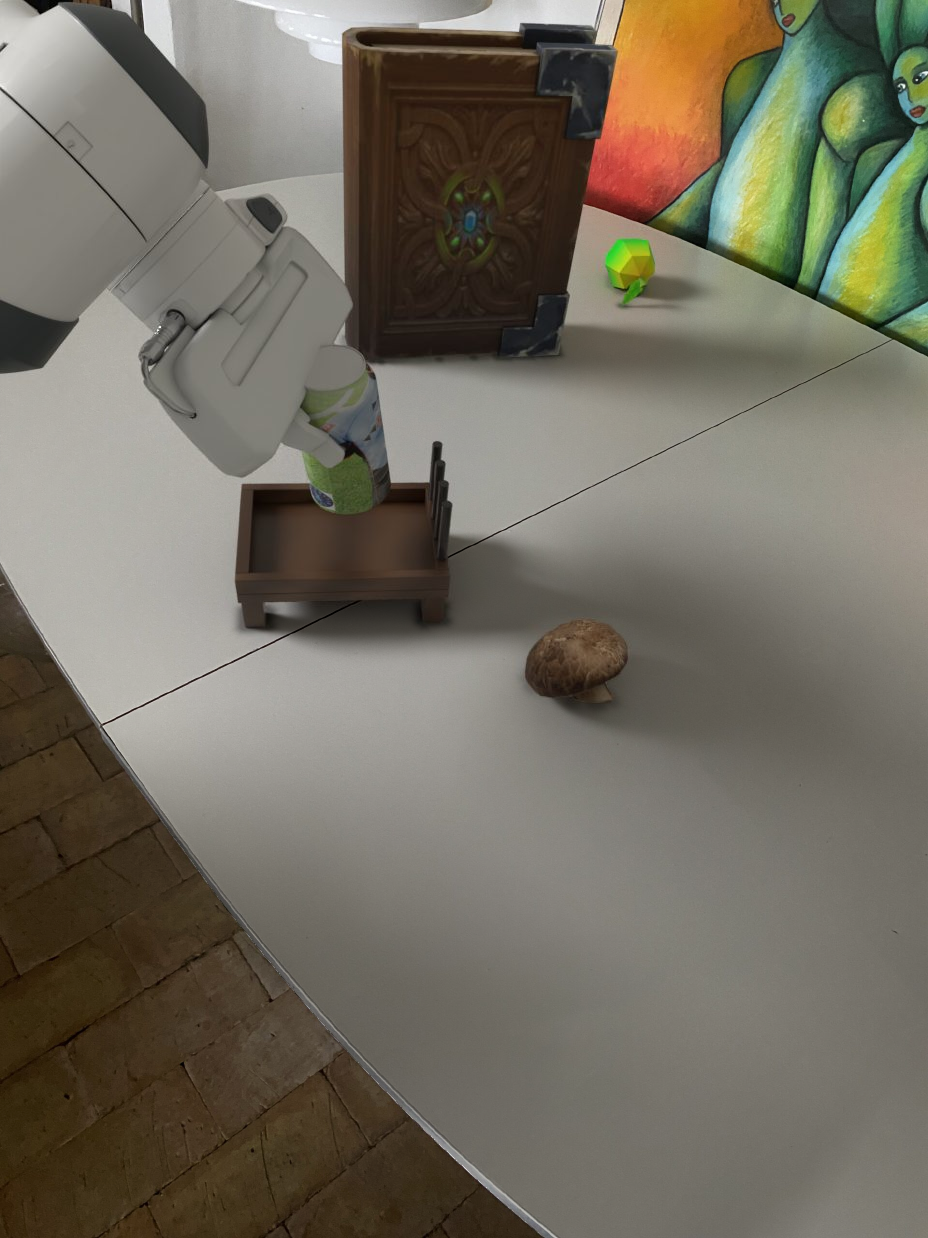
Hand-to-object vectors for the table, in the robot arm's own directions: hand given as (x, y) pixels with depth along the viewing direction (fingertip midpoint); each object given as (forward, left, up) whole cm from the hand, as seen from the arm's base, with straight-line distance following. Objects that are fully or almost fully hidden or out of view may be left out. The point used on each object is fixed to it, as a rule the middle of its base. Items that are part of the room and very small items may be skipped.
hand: (351, 433), depth 61 cm
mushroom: (+16, -12, -15) cm, 25 cm away
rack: (-1, 0, -15) cm, 15 cm away
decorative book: (+12, +36, -15) cm, 41 cm away
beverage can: (-1, 0, -7) cm, 7 cm away
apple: (+36, +49, -15) cm, 63 cm away
